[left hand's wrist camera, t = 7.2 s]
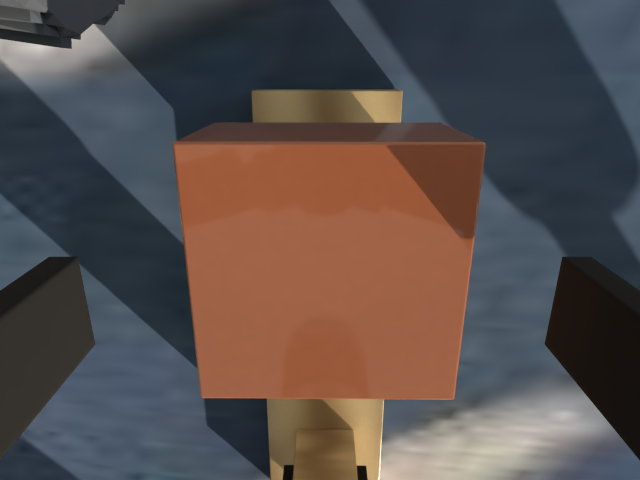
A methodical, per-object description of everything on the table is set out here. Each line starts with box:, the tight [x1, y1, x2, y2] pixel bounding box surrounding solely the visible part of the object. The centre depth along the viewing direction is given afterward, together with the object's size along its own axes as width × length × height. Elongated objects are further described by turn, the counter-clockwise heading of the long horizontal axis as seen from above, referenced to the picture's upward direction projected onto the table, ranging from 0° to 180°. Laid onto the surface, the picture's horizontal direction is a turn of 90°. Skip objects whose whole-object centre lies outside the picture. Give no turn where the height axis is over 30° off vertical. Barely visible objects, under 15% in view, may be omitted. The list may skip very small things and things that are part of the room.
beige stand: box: [251, 89, 403, 480], centre depth 25 cm, size 8×30×14 cm, turn 0°
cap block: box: [173, 122, 486, 400], centre depth 16 cm, size 8×8×5 cm
